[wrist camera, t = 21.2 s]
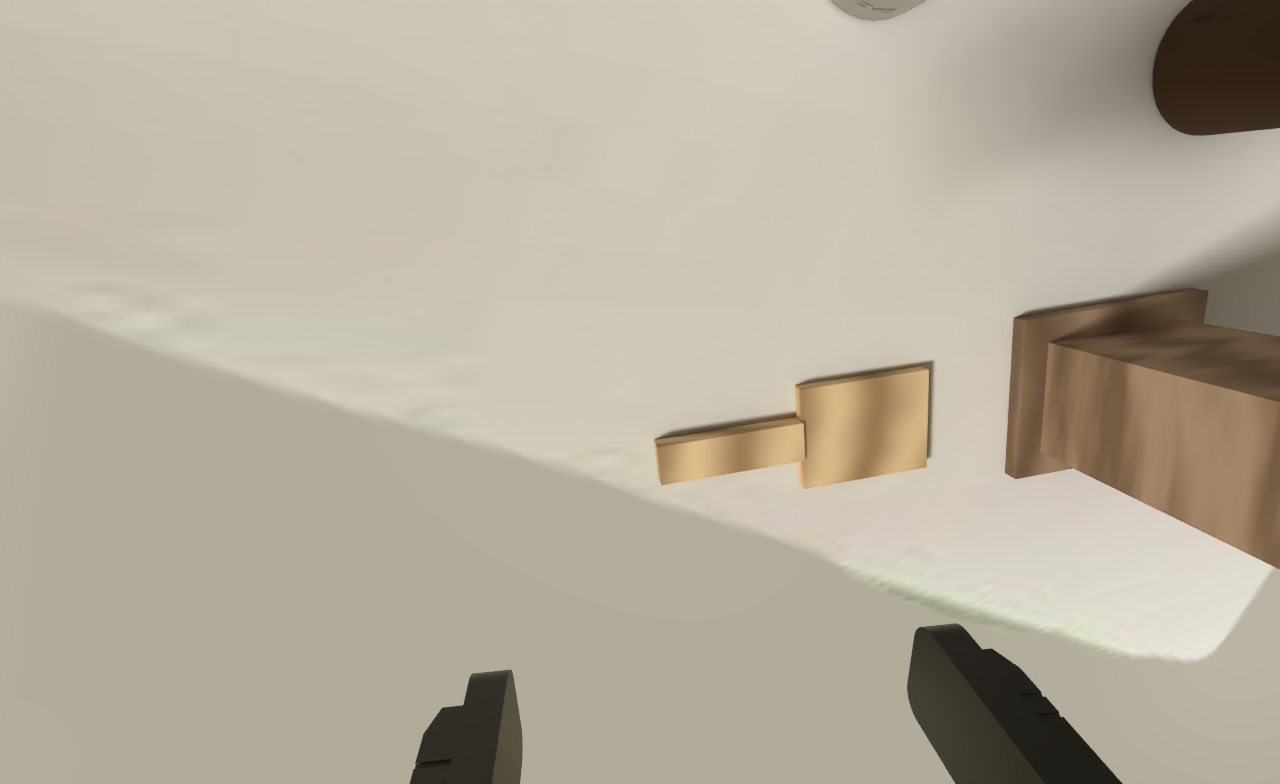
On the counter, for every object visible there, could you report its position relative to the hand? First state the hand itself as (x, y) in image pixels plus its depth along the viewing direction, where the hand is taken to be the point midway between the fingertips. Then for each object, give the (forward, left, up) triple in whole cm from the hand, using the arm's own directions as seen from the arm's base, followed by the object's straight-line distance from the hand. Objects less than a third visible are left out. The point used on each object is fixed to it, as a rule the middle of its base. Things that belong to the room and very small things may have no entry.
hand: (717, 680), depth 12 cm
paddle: (+1, +16, -32) cm, 36 cm away
